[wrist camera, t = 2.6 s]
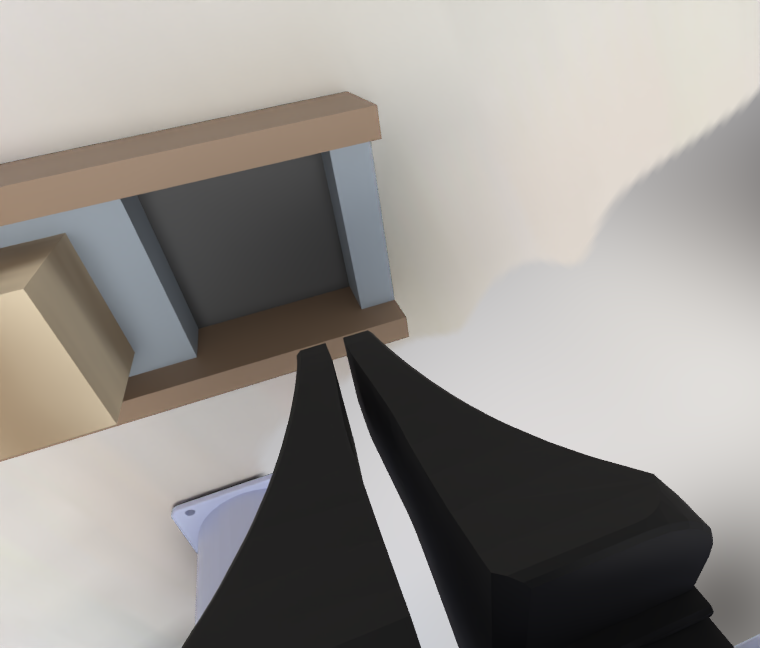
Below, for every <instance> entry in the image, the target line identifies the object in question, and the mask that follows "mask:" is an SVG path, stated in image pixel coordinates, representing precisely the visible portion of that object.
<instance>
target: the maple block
mask: <svg viewBox="0 0 760 648" xmlns="http://www.w3.org/2000/svg"><path fill="white" fill-rule="evenodd" d="M134 354H135V352H134V350H133V349H132V347H131V345H130V343H129V342H128V340H127V338H126V337H125V335H124V333H123V331H122V330H121V328H120V326H119V324H118V323H117V321H116V319H115V318H114V316H113V314H112V312H111V311H110V309H109V307H108V306H107V304H106V302H105V300H104V299H103V297H102V295H101V293H100V292H99V290H98V288H97V287H96V285H95V283H94V281H93V280H92V278H91V276H90V275H89V273H88V271H87V269H86V268H85V266H84V264H83V262H82V261H81V259H80V257H79V256H78V254H77V252H76V250H75V249H74V247H73V245H72V244H71V242H70V240H69V238H68V237H67V235H66V233H62V234H58V235H54V236H50V237H46V238H41V239H37V240H33V241H29V242H24V243H20V244H16V245H12V246H8V247H3V248H0V460H2V459H5V458H8V457H12V456H15V455H18V454H21V453H25V452H28V451H31V450H35V449H38V448H41V447H44V446H48V445H51V444H54V443H57V442H61V441H64V440H67V439H71V438H74V437H77V436H80V435H84V434H87V433H90V432H93V431H97V430H100V429H103V428H107V427H110V426H113V425H116V424H117V421H118V417H119V413H120V409H121V406H122V402H123V398H124V394H125V390H126V386H127V382H128V378H129V374H130V370H131V366H132V362H133V358H134Z"/></svg>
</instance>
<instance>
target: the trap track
mask: <svg viewBox="0 0 760 648" xmlns="http://www.w3.org/2000/svg"><path fill="white" fill-rule="evenodd" d="M378 139H382V138H381V131H380V124H379V116H378V109H377V105H376V104H373V103H371V102H369V101H367V100H365V99H362V98H360V97H358V96H356V95H354V94H351V93H349V92H342V93H337V94H333V95H328V96H323V97H318V98H314V99H309V100H304V101H299V102H294V103H290V104H285V105H280V106H275V107H271V108H266V109H261V110H256V111H252V112H247V113H242V114H237V115H232V116H228V117H223V118H218V119H213V120H209V121H204V122H199V123H194V124H190V125H185V126H180V127H175V128H171V129H166V130H161V131H156V132H151V133H147V134H142V135H137V136H132V137H128V138H123V139H118V140H113V141H109V142H104V143H99V144H94V145H89V146H85V147H80V148H75V149H70V150H66V151H61V152H56V153H51V154H47V155H42V156H37V157H32V158H28V159H23V160H18V161H13V162H8V163H4V164H0V248H3V247H8V246H12V245H16V244H20V243H24V242H29V241H33V240H37V239H41V238H46V237H50V236H54V235H58V234H62V233H66V235H67V237H68V238H69V240H70V242H71V244H72V245H73V247H74V249H75V250H76V252H77V254H78V256H79V257H80V259H81V261H82V262H83V264H84V266H85V268H86V269H87V271H88V273H89V275H90V276H91V278H92V280H93V281H94V283H95V285H96V287H97V288H98V290H99V292H100V293H101V295H102V297H103V299H104V300H105V302H106V304H107V306H108V307H109V309H110V311H111V312H112V314H113V316H114V318H115V319H116V321H117V323H118V324H119V326H120V328H121V330H122V331H123V333H124V335H125V337H126V338H127V340H128V342H129V343H130V345H131V347H132V349H133V350H134V352H135V354H134V358H133V362H132V366H131V370H130V374H129V378H128V382H127V386H126V390H125V394H124V398H123V402H122V406H121V409H120V413H119V417H118V421H117V424H116V425H113V426H110V427H107V428H103V429H100V430H97V431H93V432H90V433H87V434H84V435H80V436H77V437H74V438H71V439H67V440H64V441H61V442H57V443H54V444H51V445H48V446H44V447H41V448H38V449H35V450H31V451H28V452H25V453H21V454H18V455H15V456H12V457H8V458H5V459H2V460H0V462H1V461H4V460H7V459H11V458H14V457H17V456H21V455H24V454H27V453H30V452H34V451H37V450H40V449H43V448H47V447H50V446H53V445H56V444H60V443H63V442H66V441H70V440H73V439H76V438H79V437H83V436H86V435H89V434H92V433H96V432H99V431H102V430H106V429H109V428H112V427H115V426H119V425H122V424H125V423H128V422H132V421H135V420H138V419H141V418H145V417H148V416H151V415H155V414H158V413H161V412H164V411H168V410H171V409H174V408H177V407H181V406H184V405H187V404H190V403H194V402H197V401H200V400H204V399H207V398H210V397H213V396H217V395H220V394H223V393H226V392H230V391H233V390H236V389H240V388H243V387H246V386H249V385H253V384H256V383H259V382H262V381H266V380H269V379H272V378H275V377H279V376H282V375H285V374H289V373H292V372H295V371H297V354H298V353H299V351H300V350H303V349H307V348H310V347H313V346H317V345H320V344H324V343H326V345H327V348H328V350H329V353H330V355H331V358H332V360H334V359H338V358H341V357H344V356H347V353H346V349H345V345H344V341H343V338H344V337H347V336H350V335H354V334H357V333H360V332H364V331H367V330H368V331H370V332H372V333H373V334H374V335H375V336H376V337H377V338H378V339H379V340H380V341H381V342H383V343H384V344H387V343H390V342H393V341H396V340H400V339H403V338H406V337H409V334H408V327H407V319H406V316H405V315H404V313H403V312H402V310H401V309H400V307H399V306H398V304H397V303H396V301H395V299H394V293H393V286H392V279H391V273H390V266H389V260H388V253H387V246H386V240H385V233H384V227H383V220H382V213H381V207H380V200H379V194H378V187H377V180H376V174H375V167H374V161H373V154H372V147H371V141H374V140H378Z"/></svg>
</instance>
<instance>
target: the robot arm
mask: <svg viewBox="0 0 760 648" xmlns="http://www.w3.org/2000/svg"><path fill="white" fill-rule="evenodd" d="M343 341H344V345H345V349H346V353H347V357H348V361H349V365H350V369H351V374H352V378H353V382H354V386H355V390H356V394H357V398H358V402H359V405H360V407H361V411H362V413H363V416H364V419H365V422H366V424H367V428H368V430H369V433H370V436H371V437H372V440H373V442H374V444H375V446H376V448H377V451H378V453H379V454H380V457H381V459H382V461H383V463H384V465H385V467H386V469H387V471H388V473H389V475H390V477H391V479H392V481H393V483H394V485H395V488H396V489H397V492H398V494H399V496H400V498H401V500H402V502H403V504H404V506H405V508H406V510H407V512H408V514H409V517H410V519H411V521H412V524H413V526H414V528H415V531H416V533H417V536H418V538H419V541H420V544H421V546H422V549H423V552H424V554H425V557H426V560H427V562H428V565H429V568H430V570H431V573H432V576H433V578H434V581H435V584H436V587H437V589H438V592H439V595H440V597H441V600H442V603H443V605H444V608H445V611H446V614H447V616H448V619H449V622H450V625H451V627H452V630H453V633H454V636H455V639H456V641H457V644H458V647H459V648H760V634H758V635H756V636H754V637H752V638H750V639H748V640H746V641H744V642H742V643H740V644H738V645H735V646H732V644H731V643H730V642H729V641H728V640H727V639H726V637H725V636H724V635H723V634H722V633H721V631H720V630H719V629H718V628H717V627H716V625H715V624H714V623H713V622H712V621H711V619H710V618H709V617H710V616H712V614H713V609H712V607H711V605H710V604H709V602H708V601H707V600H706V599H705V598H704V597H703V596H702V594H701V593H700V592H699V591H698V590H697V589H696V588H695V586H694V584H695V583H696V581H697V579H698V577H699V575H700V573H701V571H702V569H703V567H704V565H705V563H706V561H707V559H708V557H709V555H710V552H711V548H712V545H713V537H712V532H711V528H710V527H709V526H708V525H707V524H706V523H705V522H704V521H703V520H702V519H701V518H700V517H699V516H698V515H697V514H696V513H695V512H694V511H693V510H692V509H691V508H690V507H689V506H688V505H687V504H686V503H685V502H684V501H683V500H682V499H681V498H680V497H679V496H678V495H677V494H676V493H675V492H674V491H672V490H671V489H670V488H669V487H668V486H666V485H665V484H664V483H663V482H662V481H661V480H659V479H658V478H657V477H656V476H655V475H654V474H651V473H648V472H644V471H641V470H637V469H633V468H630V467H626V466H622V465H619V464H616V463H612V462H608V461H604V460H601V459H598V458H594V457H591V456H588V455H584V454H582V453H579V452H576V451H573V450H570V449H567V448H565V447H562V446H559V445H556V444H553V443H550V442H547V441H545V440H543V439H540V438H538V437H535V436H533V435H531V434H529V433H526V432H523V431H521V430H519V429H517V428H514V427H512V426H510V425H507V424H505V423H503V422H501V421H499V420H497V419H495V418H493V417H491V416H489V415H487V414H485V413H483V412H481V411H480V410H478V409H476V408H474V407H472V406H470V405H469V404H467V403H465V402H463V401H462V400H460V399H458V398H457V397H455V396H453V395H452V394H450V393H449V392H447V391H446V390H444V389H442V388H441V387H439V386H438V385H436V384H435V383H433V382H432V381H431V380H429V379H428V378H426V377H425V376H424V375H422V374H421V373H419V372H418V371H417V370H415V369H414V368H412V367H411V366H410V365H409V364H407V363H406V362H405V361H404V360H402V359H401V358H400V357H399V356H398V355H396V354H395V353H394V352H393V351H392V350H390V349H389V348H388V347H387V346H386V345H385V344H384V343H383V342H381V341H380V340H379V339H378V338H377V337H376V336H375V335H374V334H373V333H372V332H370V331H368V330H367V331H364V332H360V333H357V334H354V335H350V336H347V337H344V338H343ZM171 517H172V519H173V520H174V522H175V523H176V525H177V526H178V527H179V529H180V530H181V532H182V533H183V534H184V536H185V537H186V539H187V540H188V542H189V543H190V544H191V546H192V547H193V549H194V550H195V551H196V553H197V554H198V558H197V587H196V616H195V627H194V629H193V630H192V632H191V633H190V635H189V637H188V638H187V640H186V641H185V643H184V645H183V646H182V648H421V646H420V643H419V640H418V638H417V634H416V631H415V628H414V625H413V622H412V619H411V616H410V613H409V611H408V608H407V606H406V602H405V600H404V597H403V594H402V591H401V589H400V586H399V583H398V580H397V577H396V575H395V572H394V569H393V566H392V563H391V561H390V558H389V555H388V552H387V549H386V547H385V544H384V541H383V538H382V535H381V532H380V530H379V527H378V524H377V521H376V518H375V515H374V513H373V510H372V507H371V504H370V501H369V498H368V495H367V492H366V489H365V487H364V484H363V480H362V475H361V471H360V466H359V462H358V457H357V452H356V448H355V443H354V439H353V436H352V432H351V428H350V424H349V421H348V417H347V413H346V409H345V406H344V402H343V398H342V395H341V391H340V387H339V383H338V379H337V376H336V372H335V368H334V365H333V361H332V358H331V355H330V353H329V350H328V348H327V345H326V343H324V344H320V345H317V346H313V347H310V348H307V349H303V350H300V351H299V353H298V354H297V375H296V384H295V391H294V397H293V402H292V407H291V412H290V417H289V421H288V425H287V429H286V432H285V436H284V440H283V444H282V447H281V450H280V453H279V457H278V460H277V463H276V466H275V469H274V471H273V473H271V474H268V475H265V476H263V477H260V478H257V479H254V480H251V481H248V482H245V483H242V484H239V485H236V486H233V487H230V488H227V489H224V490H221V491H218V492H215V493H212V494H209V495H207V496H204V497H201V498H198V499H195V500H192V501H189V502H186V503H183V504H180V505H177V506H175V507H174V508H173V509H172V513H171Z"/></svg>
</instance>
